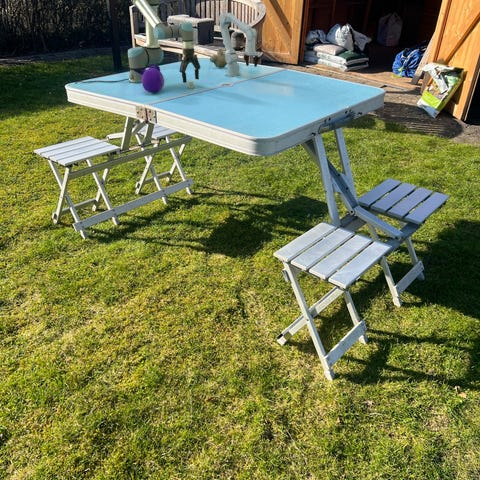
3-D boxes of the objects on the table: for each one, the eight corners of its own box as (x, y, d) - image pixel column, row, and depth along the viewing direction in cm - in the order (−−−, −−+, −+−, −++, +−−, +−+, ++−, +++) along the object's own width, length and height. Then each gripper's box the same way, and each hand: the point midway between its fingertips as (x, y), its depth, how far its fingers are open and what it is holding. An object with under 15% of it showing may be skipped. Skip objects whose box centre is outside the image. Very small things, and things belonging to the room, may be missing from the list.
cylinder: (195, 87, 316) (194, 81, 314) (191, 88, 313) (191, 82, 311) (190, 87, 318) (190, 81, 316) (187, 88, 315) (187, 81, 313)
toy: (156, 85, 322) (164, 98, 301) (131, 81, 314) (137, 93, 294) (160, 63, 314) (168, 74, 293) (135, 58, 306) (141, 69, 286)
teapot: (213, 69, 375) (212, 50, 367) (207, 67, 383) (206, 48, 376) (235, 67, 384) (235, 48, 376) (229, 65, 392) (228, 46, 385)
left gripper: (180, 50, 292) (183, 84, 302) (204, 46, 309) (206, 78, 320) (172, 50, 295) (175, 83, 306) (195, 45, 313) (197, 77, 324)
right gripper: (240, 46, 333) (240, 66, 339) (256, 48, 325) (256, 67, 332) (246, 45, 337) (246, 64, 344) (261, 47, 330) (261, 66, 337)
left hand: (191, 80), depth 313 cm, fingers open, 13 cm apart
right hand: (251, 66), depth 338 cm, fingers open, 7 cm apart
